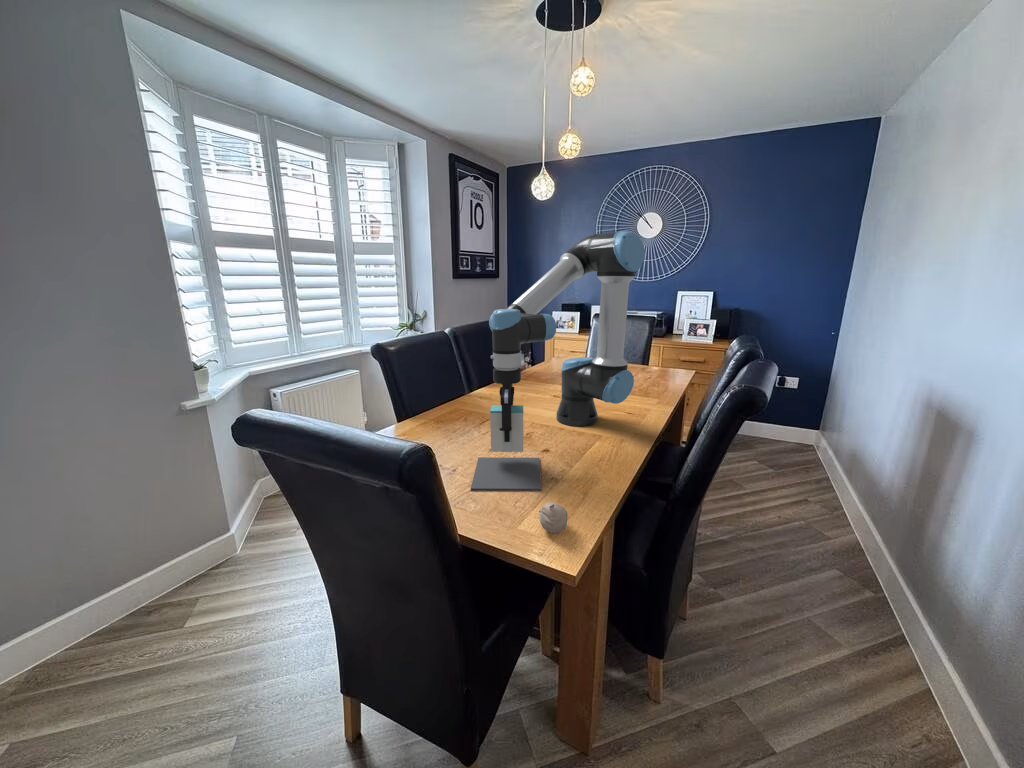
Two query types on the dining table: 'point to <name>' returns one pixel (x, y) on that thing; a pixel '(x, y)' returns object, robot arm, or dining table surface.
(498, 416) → the grey teal block
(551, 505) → the garlic bulb
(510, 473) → the rubber mat
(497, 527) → the dining table surface
